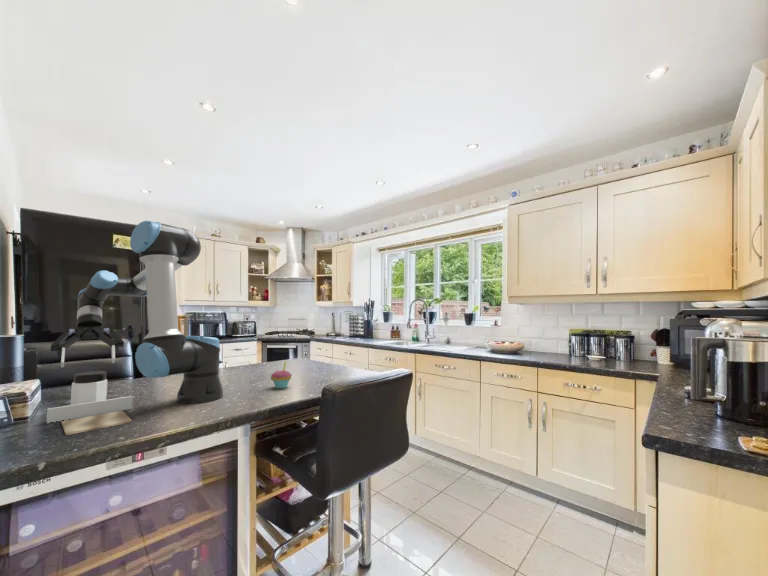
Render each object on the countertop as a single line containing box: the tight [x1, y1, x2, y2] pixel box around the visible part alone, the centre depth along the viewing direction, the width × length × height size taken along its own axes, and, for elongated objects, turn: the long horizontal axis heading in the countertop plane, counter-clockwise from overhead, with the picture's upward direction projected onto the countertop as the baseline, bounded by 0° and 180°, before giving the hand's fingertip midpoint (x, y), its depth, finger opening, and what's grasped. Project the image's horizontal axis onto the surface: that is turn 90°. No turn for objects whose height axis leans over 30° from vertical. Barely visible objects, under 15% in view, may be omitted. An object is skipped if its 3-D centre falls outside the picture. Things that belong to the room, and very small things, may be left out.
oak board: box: [61, 410, 133, 436], centre depth 97 cm, size 14×14×1 cm
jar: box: [69, 370, 108, 405], centre depth 110 cm, size 9×8×12 cm
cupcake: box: [270, 360, 293, 389], centre depth 142 cm, size 9×8×12 cm
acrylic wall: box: [46, 395, 133, 424], centre depth 104 cm, size 20×1×4 cm, turn 138°
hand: (89, 362), depth 118 cm, fingers open, 13 cm apart
